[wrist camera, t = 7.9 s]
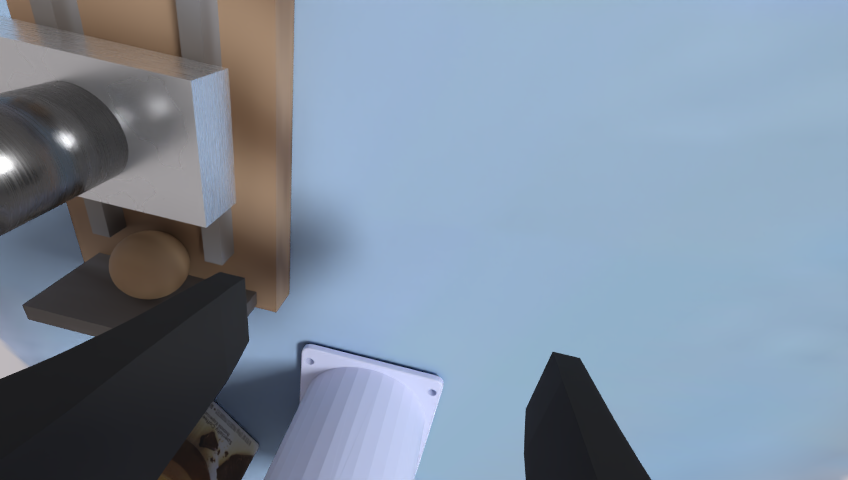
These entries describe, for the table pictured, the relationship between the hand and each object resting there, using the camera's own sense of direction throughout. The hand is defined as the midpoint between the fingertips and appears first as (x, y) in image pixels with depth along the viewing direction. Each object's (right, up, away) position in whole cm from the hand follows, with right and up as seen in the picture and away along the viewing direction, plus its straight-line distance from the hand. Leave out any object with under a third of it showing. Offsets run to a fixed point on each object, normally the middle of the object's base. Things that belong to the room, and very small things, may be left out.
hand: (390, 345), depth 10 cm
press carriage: (-10, +7, +5) cm, 13 cm away
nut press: (-9, +9, +8) cm, 15 cm away
